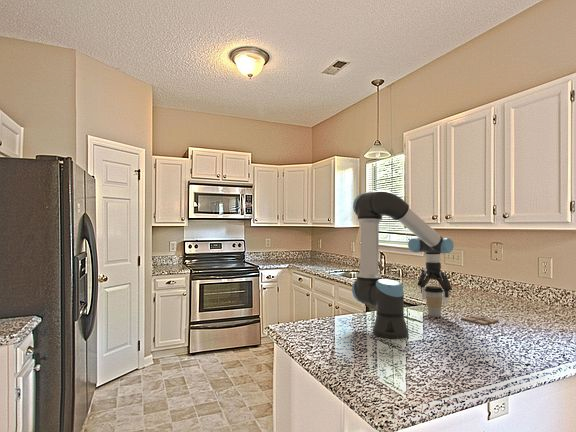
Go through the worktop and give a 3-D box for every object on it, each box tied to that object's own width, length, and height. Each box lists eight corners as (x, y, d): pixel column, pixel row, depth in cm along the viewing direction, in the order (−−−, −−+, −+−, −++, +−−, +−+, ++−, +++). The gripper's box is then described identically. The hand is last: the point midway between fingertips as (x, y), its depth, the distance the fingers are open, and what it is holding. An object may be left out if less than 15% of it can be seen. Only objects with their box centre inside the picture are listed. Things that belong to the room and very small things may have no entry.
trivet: (483, 325, 169) (483, 322, 169) (461, 319, 180) (461, 317, 180) (498, 321, 175) (498, 319, 175) (475, 316, 186) (475, 314, 186)
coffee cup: (441, 318, 183) (440, 289, 183) (422, 315, 188) (422, 287, 189) (445, 314, 190) (445, 287, 191) (427, 312, 196) (427, 285, 196)
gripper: (458, 263, 181) (459, 304, 181) (419, 259, 203) (420, 296, 202) (448, 264, 178) (450, 306, 177) (410, 260, 200) (411, 298, 199)
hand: (434, 301), depth 190 cm, fingers open, 13 cm apart
